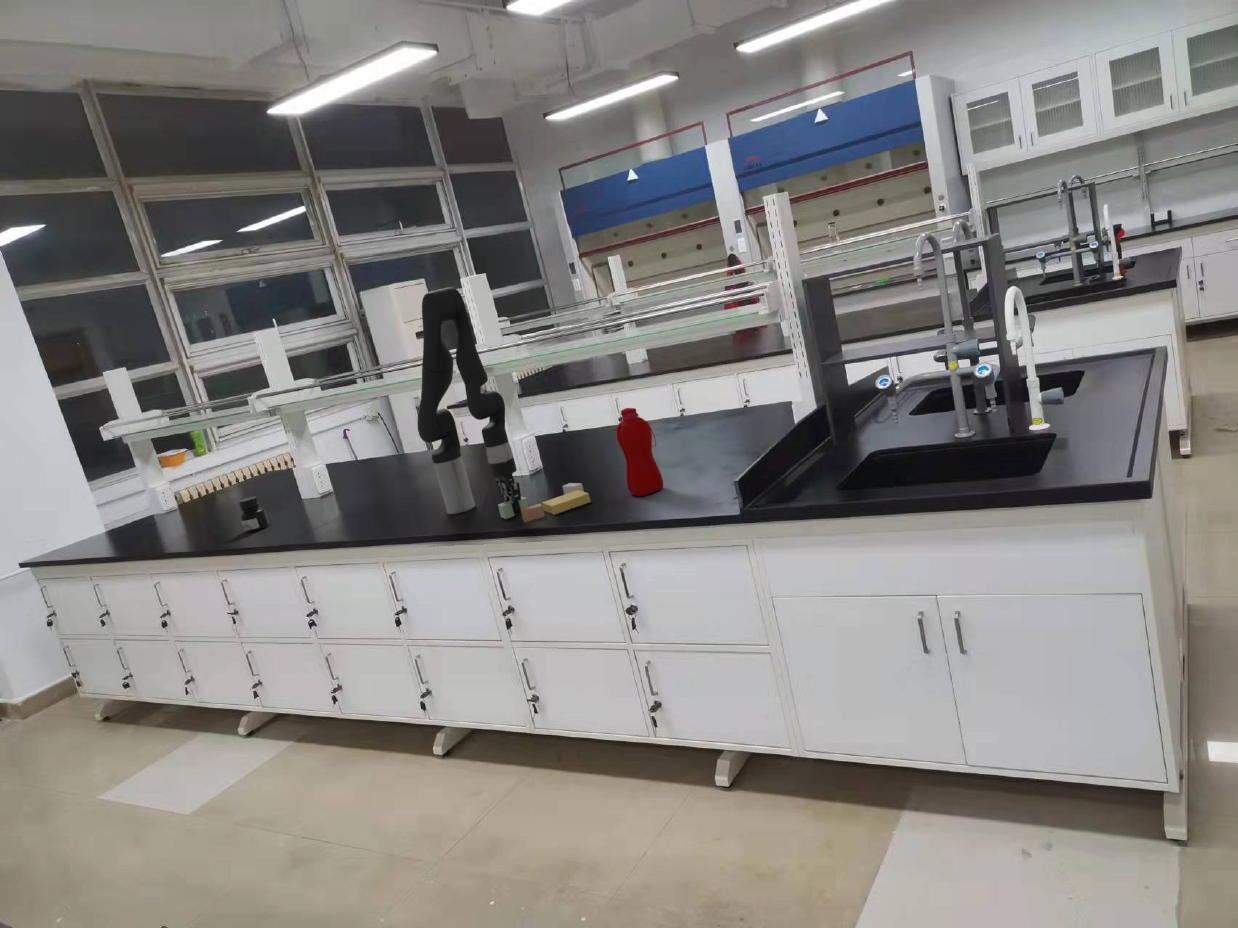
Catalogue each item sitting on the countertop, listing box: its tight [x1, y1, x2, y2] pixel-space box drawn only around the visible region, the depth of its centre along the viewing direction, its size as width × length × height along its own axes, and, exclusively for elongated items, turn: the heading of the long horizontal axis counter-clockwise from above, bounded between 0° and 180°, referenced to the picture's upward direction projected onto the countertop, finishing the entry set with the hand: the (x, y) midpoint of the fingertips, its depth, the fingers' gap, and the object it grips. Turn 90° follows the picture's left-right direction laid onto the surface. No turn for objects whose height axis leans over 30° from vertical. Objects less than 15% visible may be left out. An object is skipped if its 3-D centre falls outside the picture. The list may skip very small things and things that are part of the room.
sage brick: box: [497, 495, 530, 520], centre depth 260 cm, size 4×8×4 cm, turn 118°
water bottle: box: [615, 407, 664, 497], centre depth 248 cm, size 9×11×25 cm
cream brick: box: [562, 482, 585, 495], centre depth 266 cm, size 6×3×4 cm, turn 44°
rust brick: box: [521, 503, 545, 523], centre depth 250 cm, size 6×3×4 cm, turn 104°
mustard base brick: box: [541, 490, 592, 516], centre depth 255 cm, size 8×12×3 cm, turn 116°
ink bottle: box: [238, 495, 270, 533], centre depth 326 cm, size 10×9×12 cm
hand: (515, 512), depth 260 cm, fingers closed on sage brick, 4 cm apart
